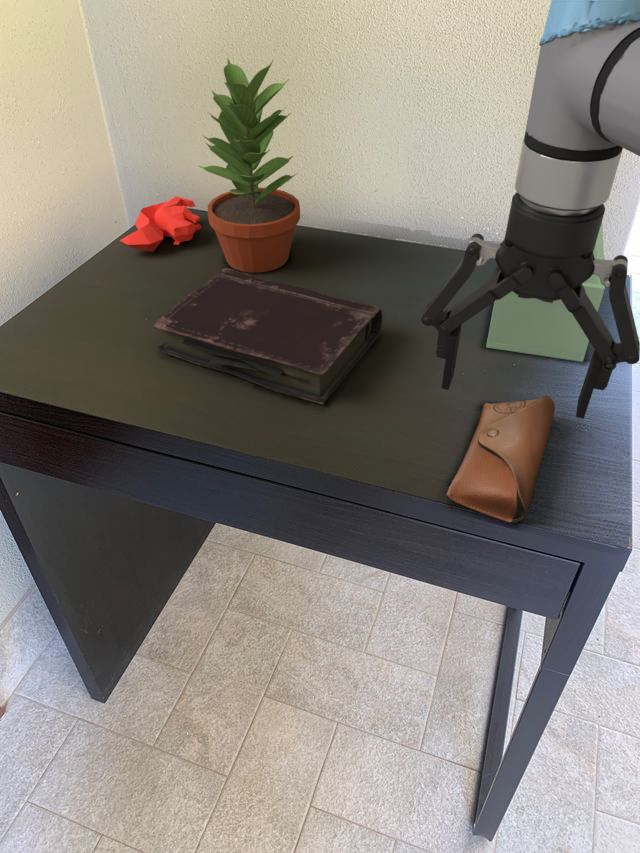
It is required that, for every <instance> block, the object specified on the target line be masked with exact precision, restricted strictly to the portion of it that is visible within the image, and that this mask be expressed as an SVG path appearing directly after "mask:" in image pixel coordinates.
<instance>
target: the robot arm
mask: <svg viewBox="0 0 640 853" xmlns="http://www.w3.org/2000/svg"><path fill="white" fill-rule="evenodd" d="M539 46H540V48H539V53H538V59H537V65H536V70H535V75H534V81H533V87H532V92H531V99H530V102H529V103H530V104H529V108H528V114H527V120H526V125H525V130H524V136H523V139H522V144H521V148H520V154H519V159H518V160H519V161H518V165H517V171H516V176H515V182H514V189H515V191H516V192H515V193H514V194H513V196H512V198H511V204H510V207H509V208H510V209H509V213H508V218H507V224H506V229H505V235H504V238H503V240H502V242H501V243H500V244H499V243H495V242H491V241H487V240H485V237H484V235H483V234H481V233H476V232H475V233H474V234H473V235H471V237H470V238H469V241H468V244H467V246H466V249H465V252H464V256H463V258H462V259H461V260H460V261H459V263H458V264H457V266H456V267H455V268H454V269H453V271H452V273H451V274H450V275H449V276H448V278H447V279H446V280H445V281H444V283H443V284H442V285H441V287H440V288H439V289H438V291H436V293H435V294H434V296H433V297H432V298H431V300H430V301H429V303H428V304H427V306H426V307H425V309H424V312H423V313H422V316H421V318H420V320H421V323H422V325H424V326H428V327H429V326H432V327H434V328H435V329H436V330H437V332H438V334H437V342H436V347H435V348H436V350H435V355H436V358H440V359H444V360H445V361H444V367H443V374H442V382H441V390H446V391H449V389H450V387H451V385H452V381H453V378H454V375H455V369H456V363H457V357H458V352H459V351H458V349H459V345H460V344H459V343H460V338H461V331H462V327H463V326H462V325H463V324H464V323H466V322H467V321H469V320H470V319H471V318H473V317H474V316H476V315H478V314H479V312H482V311H483V310H485V309H486V308H487V307H489V306H490V305H491V304H494V301H496V300H500V299H501V298H503V297H504V296H506V295H507V294H509V293H510V292H511V291H513V292H514V293H516V294H518V297H520V298H526V299H528V298H536V299H539V300H541V301H544V302H549V303H553V301H556V300H560V299H561V300H562V302H563V304H564V305H565V307H566V308H567V310H568V311H569V312H571V313H572V314H573V316H574V317H575V319H576V321H577V322H578V324H579V325H580V327H581V329H582V330H583V332H584V333H585V335H586V336H587V338H588V340H589V343H590V345H591V346H592V348H593V353H592V356H591V359H590V362H589V365H588V368H587V370H586V374H585V377H584V380H583V383H582V386H581V390H580V393H579V396H578V399H577V403H576V404H577V405H576V411H575V418H578V419H581V420H583V419H584V418H585V416H586V413H587V410H588V407H589V404H590V401H591V398H592V395H593V392H594V390H599V391H604V390H605V389H606V388H607V387H608V385H609V382H610V379H611V376H612V374H613V370H615V369H616V368H617V364H619V363H620V364H621V363H627V364H628V365H636V364H638V363H639V361H640V339H639V334H638V330H637V326H636V322H635V318H634V313H633V308H632V305H631V300H630V296H629V293H628V288H627V283H626V282H627V277H628V264H629V260H628V257H627V256H626V255H623V254H618V255H616V256H615V257H613V259H604V260H600V259H595V258H594V254H593V251H594V247H595V244H596V240H597V237H598V233H599V230H600V226H601V223H602V224H603V219H604V216H605V212H606V206H605V204H606V202H607V201H608V200H609V198H610V196H611V192H612V188H613V184H614V182H615V178H616V174H617V171H618V167H619V164H620V160H621V157H622V154H623V149H624V150H626V151H628V152H631V153H632V154H635V155H636V156H638V157H640V0H551V1H550V5H549V9H548V13H547V17H546V21H545V24H544V29H543V32H542V37H541V38H539ZM493 259H494V260H495V263H496V265H497V267H498V269H499V271H498V272H496V273H495V274H494V276H493V277H492V278H491V279H489V280H488V281H486V282H485V283H484V284H482V285H481V286H480V287H478V288H477V289H476V290H474V291H473V292H472V293H470V294H469V295H468V296H467V295H466V297H465V298H463V299H462V300H460V301H459V302H458V303H456V304H455V305H454V306H452V307H451V308H450V309H448V308H446V307H447V306H448V305H449V304H450V303H451V301H452V300H453V298H454V297H455V296H456V294H457V293H458V292H459V291H460V290H461V289H462V287H463V286H464V285H465V283H466V282H467V280H468V279H469V278H470V277H471V276H472V274H473V273H474V270H475V268H476V267H482V266H484V265H485V264H486V263H487V262H488V261H489V260H493ZM593 274H594V275H597V276H598V277H599V278H600V282H601V284H602V285H603V286H605V288H608V298H609V302H610V307H611V310H612V314H613V318H614V322H615V326H616V331H617V334H618V338H619V341H620V342H616V340H615V339H614V336H613V335H612V333H611V332H610V330H609V329H608V327H607V324H605V322H604V320H603V319H602V317H601V315H600V313H599V311H598V312H597V311H596V309H595V307H594V306H593V304H592V302H591V301H590V299H589V298H588V296H587V294H586V292H585V288H584V286H583V284H582V283H584V282H585V281H586V280H588V279H589V278H590V277H591V276H592V275H593ZM445 309H446V310H445ZM444 310H445V311H444Z"/></svg>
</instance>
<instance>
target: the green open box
mask: <svg viewBox="0 0 640 853" xmlns="http://www.w3.org/2000/svg"><path fill="white" fill-rule="evenodd" d="M593 254H594V258H595V259H600V260H605V257H604V256H605V254H604V234H603V222H602V223H601V226H600V230H599V233H598V237H597V240H596V244H595V247H594V251H593ZM582 284H583V286H584V288H585V292H586V294H587V296H588V298H589V299H590V301H591V302H592V304H593V306H594V307H595V309H596V311H597V312H598V313H599V310H600V307H601V304H602V300H603V297H604V293H605V290H606V287H605V286H603V285H602V284H601V282H600V278H599V277H598V276H597V275H594V274H593V275H592V276H591V277H590V278H589V279H588V280H586V281H585V282H584V283H582ZM589 343H590V341H589V340H588V338H587V336H586V335H585V333H584V332H583V330H582V329H581V327H580V325H579V324H578V322H577V321H576V319H575V317H574V316H573V314H572V313H571V312H569V311H568V310H567V308H566V307H565V305H564V304H563V302H562V300H561V299H560V300H556V301H553V303H549V302H544V301H541V300H539V299H536V298H528V299H526V298H520V297H518V294H516V293H514V292H513V291H511V292H510V293H509V294H507V295H506V296H504V297H503V298H501V299H500V300H496V301H494V302H493V307H492V313H491V317H490V323H489V329H488V335H487V339H486V345H485V348H488V349H494V350H501V351H507V352H514V353H520V354H526V355H533V356H541V357H547V358H554V359H561V360H566V361H567V360H568V361H573V362H581V363H584V360H585V356H586V354H587V350H588V346H589Z"/></svg>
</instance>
